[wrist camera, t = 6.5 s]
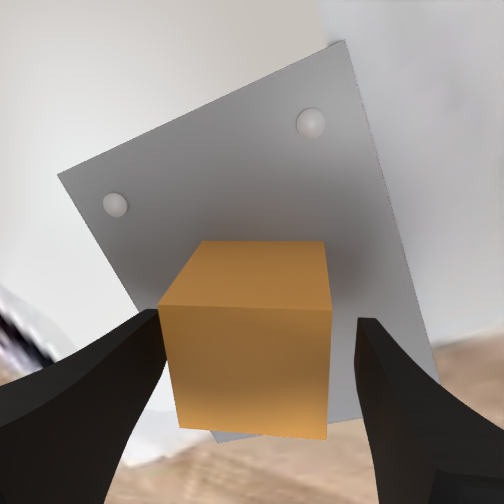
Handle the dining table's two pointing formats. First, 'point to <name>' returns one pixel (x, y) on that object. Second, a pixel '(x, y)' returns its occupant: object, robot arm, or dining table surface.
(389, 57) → the dining table surface
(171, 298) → the orange cube
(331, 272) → the plate
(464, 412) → the robot arm
